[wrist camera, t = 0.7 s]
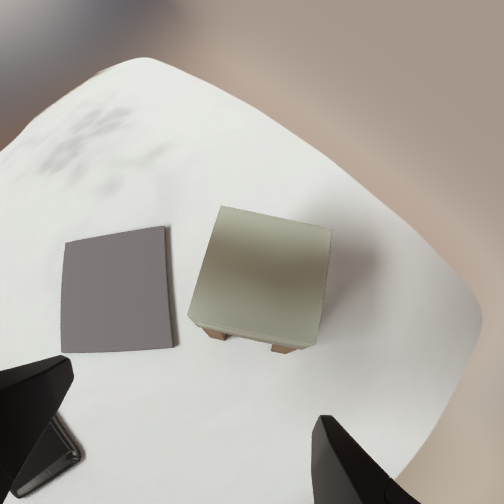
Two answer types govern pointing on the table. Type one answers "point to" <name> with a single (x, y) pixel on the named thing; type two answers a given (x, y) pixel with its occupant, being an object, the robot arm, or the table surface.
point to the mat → (116, 293)
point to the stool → (262, 280)
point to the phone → (46, 460)
